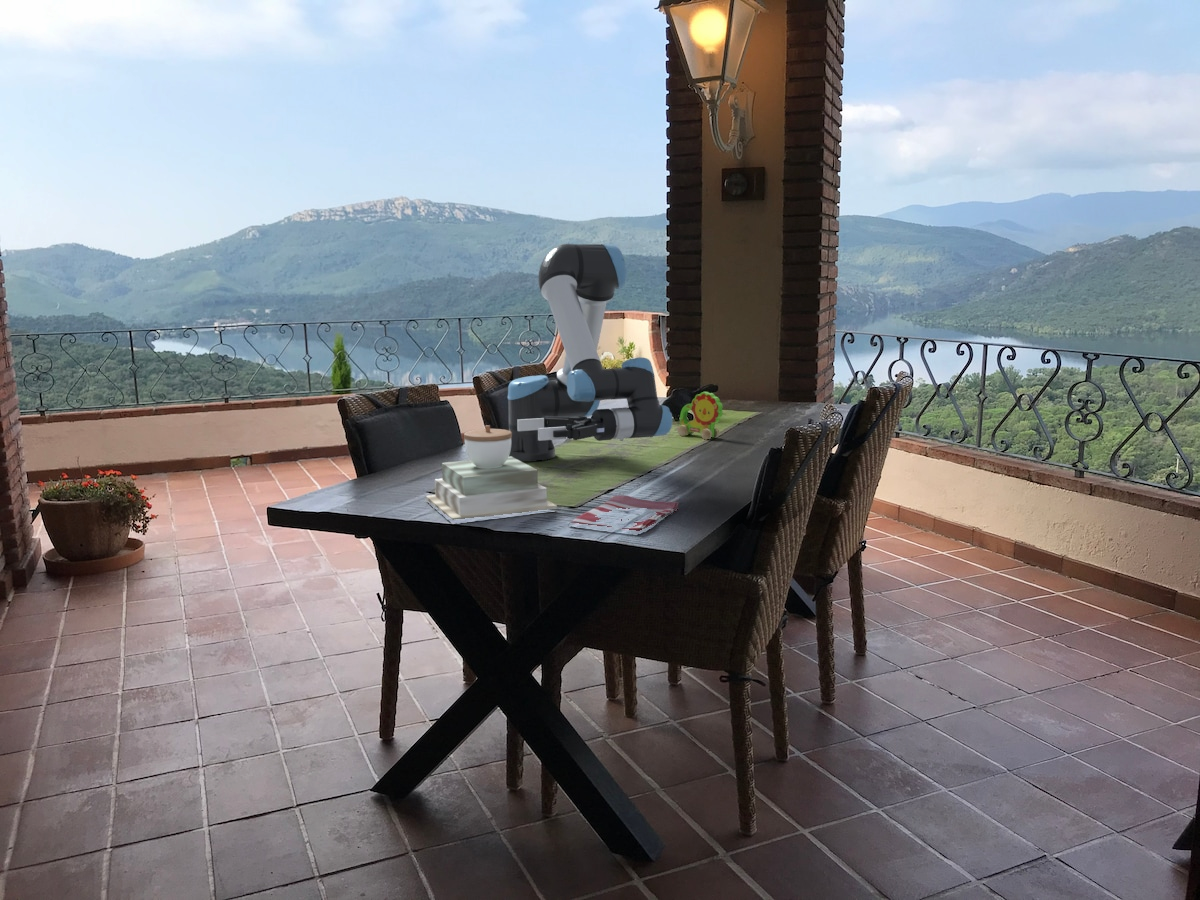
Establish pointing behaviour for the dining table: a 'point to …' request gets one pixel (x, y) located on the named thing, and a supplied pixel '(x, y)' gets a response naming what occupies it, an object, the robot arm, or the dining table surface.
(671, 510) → the dish towel
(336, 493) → the dining table surface
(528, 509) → the brick tower
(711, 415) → the toy lion
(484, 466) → the lidded jar
